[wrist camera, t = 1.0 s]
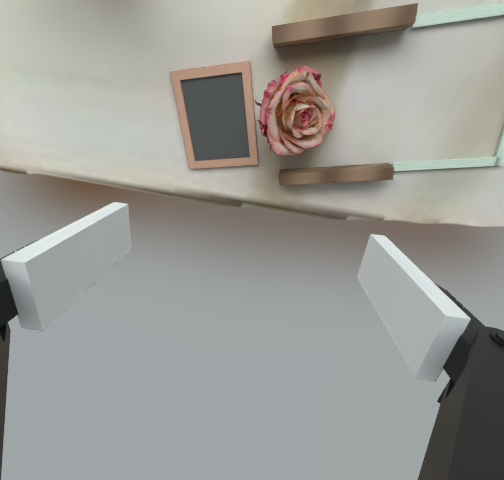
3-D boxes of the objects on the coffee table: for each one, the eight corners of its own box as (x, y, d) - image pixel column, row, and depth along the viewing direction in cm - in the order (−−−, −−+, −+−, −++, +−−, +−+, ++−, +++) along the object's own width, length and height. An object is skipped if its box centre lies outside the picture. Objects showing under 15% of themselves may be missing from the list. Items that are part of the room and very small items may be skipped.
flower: (245, 154, 35) (277, 172, 29) (232, 73, 30) (268, 76, 24) (306, 133, 38) (346, 146, 32) (304, 56, 32) (352, 55, 26)
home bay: (555, -6, 26) (558, -7, 25) (501, 164, 33) (503, 165, 32) (412, 16, 28) (414, 15, 27) (391, 170, 35) (392, 171, 35)
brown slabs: (408, 11, 28) (417, 3, 25) (386, 174, 35) (392, 179, 33) (273, 31, 30) (271, 26, 28) (280, 180, 38) (279, 185, 36)
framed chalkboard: (249, 61, 32) (249, 61, 31) (258, 163, 37) (257, 164, 37) (172, 72, 34) (170, 71, 33) (190, 168, 39) (189, 169, 39)
